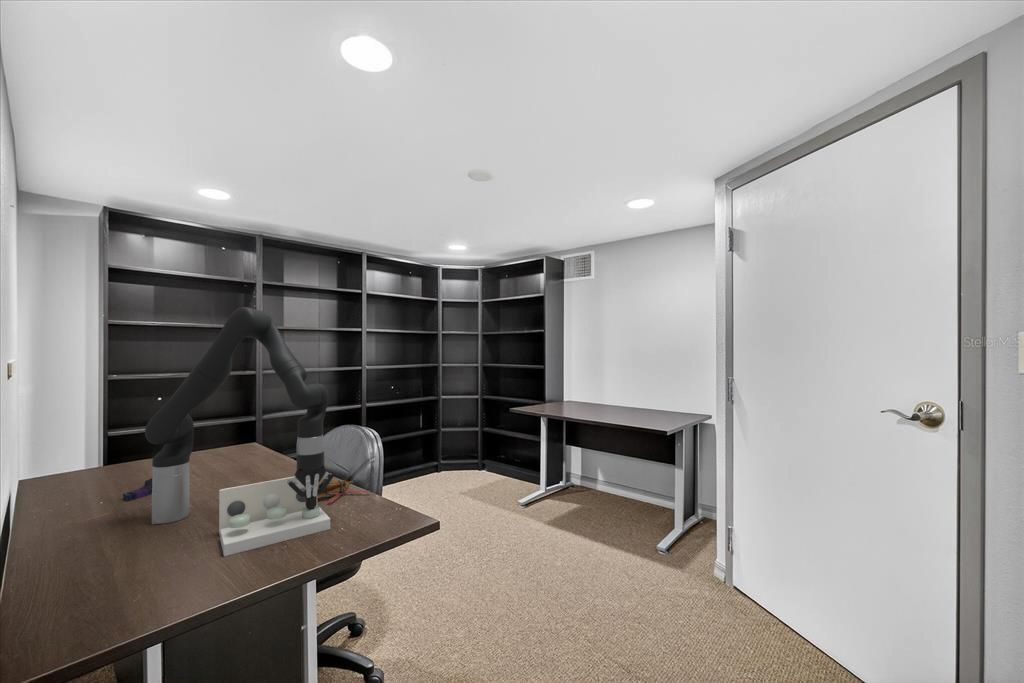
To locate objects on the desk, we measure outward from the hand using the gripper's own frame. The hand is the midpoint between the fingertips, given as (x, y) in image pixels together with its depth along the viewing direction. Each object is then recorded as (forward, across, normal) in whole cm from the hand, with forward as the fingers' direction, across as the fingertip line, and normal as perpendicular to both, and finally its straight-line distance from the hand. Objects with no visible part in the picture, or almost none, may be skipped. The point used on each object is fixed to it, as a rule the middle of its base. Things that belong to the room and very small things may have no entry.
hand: (311, 508), depth 127 cm
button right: (+2, 0, 0) cm, 2 cm away
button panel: (+5, +9, 0) cm, 10 cm away
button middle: (0, +9, 0) cm, 9 cm away
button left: (0, +18, 0) cm, 18 cm away
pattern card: (+5, +9, -10) cm, 14 cm away
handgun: (+6, +41, -76) cm, 87 cm away
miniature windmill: (+6, -8, -22) cm, 24 cm away
